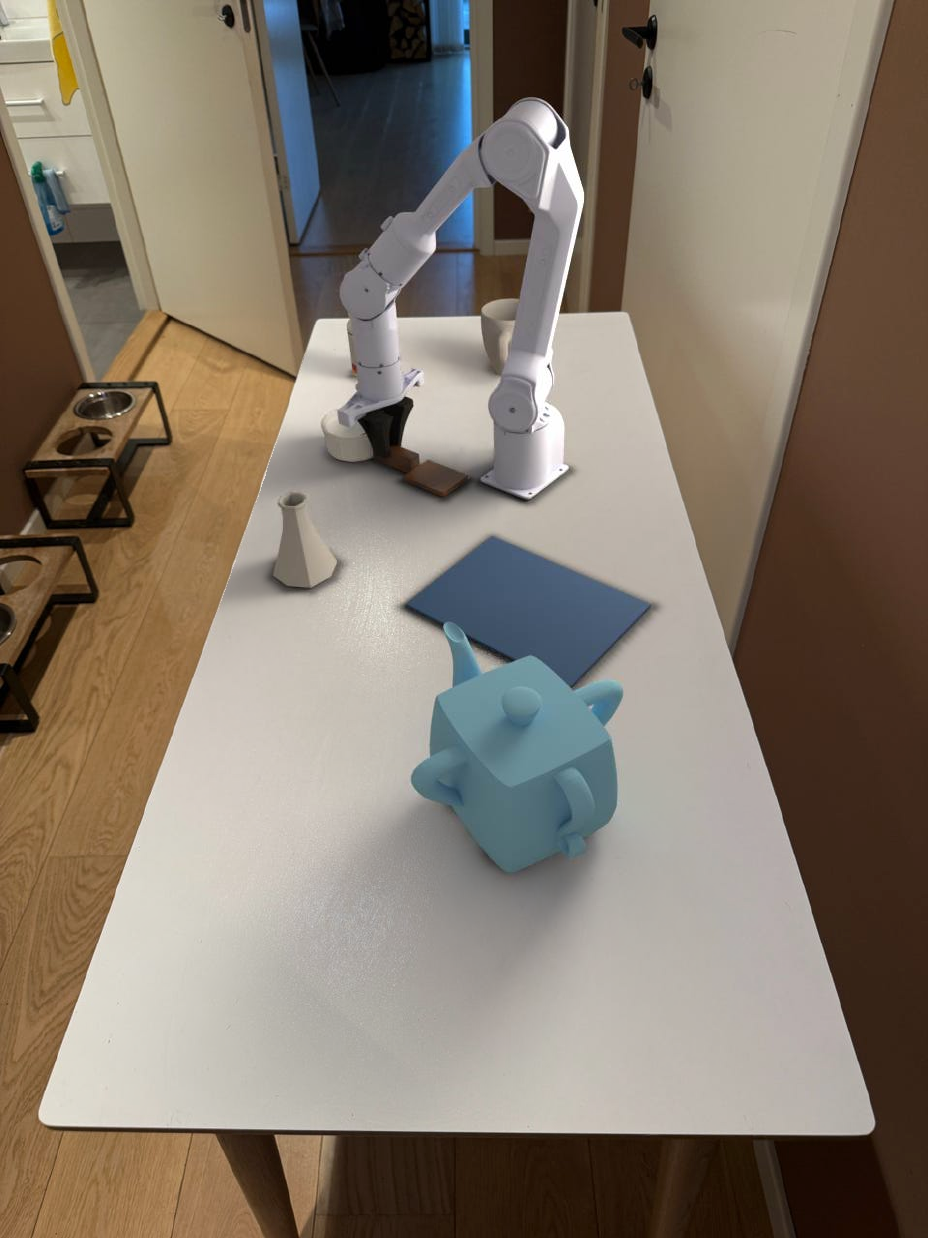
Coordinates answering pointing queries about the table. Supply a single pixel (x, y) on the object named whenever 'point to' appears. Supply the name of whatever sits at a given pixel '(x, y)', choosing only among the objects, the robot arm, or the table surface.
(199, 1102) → the table surface
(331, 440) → the ramekin
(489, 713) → the teapot
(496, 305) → the mug
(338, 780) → the table surface
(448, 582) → the mat
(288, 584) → the flask
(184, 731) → the table surface
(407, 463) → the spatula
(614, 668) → the table surface
